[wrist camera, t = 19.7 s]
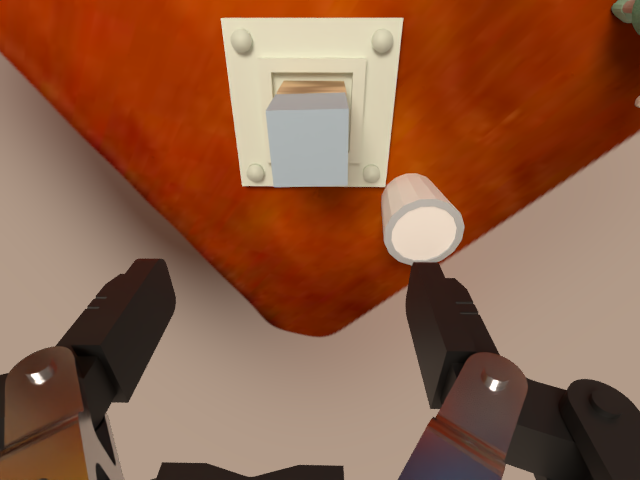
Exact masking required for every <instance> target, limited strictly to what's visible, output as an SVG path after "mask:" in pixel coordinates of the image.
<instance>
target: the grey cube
mask: <svg viewBox="0 0 640 480" xmlns="http://www.w3.org/2000/svg"><path fill="white" fill-rule="evenodd" d="M266 120H267V129H268V139H269V148H270V158H271V167H272V176H273V186H274V187H313V186H348V125H349V108H348V103H347V98H346V94H345V92H342V93H305V94H276V95H275V96H274V98H273V99H272V101H271V103H270V104H269V106H268V107H267V109H266Z"/></svg>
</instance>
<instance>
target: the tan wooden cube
mask: <svg viewBox="0 0 640 480" xmlns="http://www.w3.org/2000/svg"><path fill="white" fill-rule="evenodd" d="M342 92H345V94H346V88H345V84H344V81H283V83H282V84H281V86H280V88H279V89H278V91H277V94H305V93H342Z"/></svg>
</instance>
